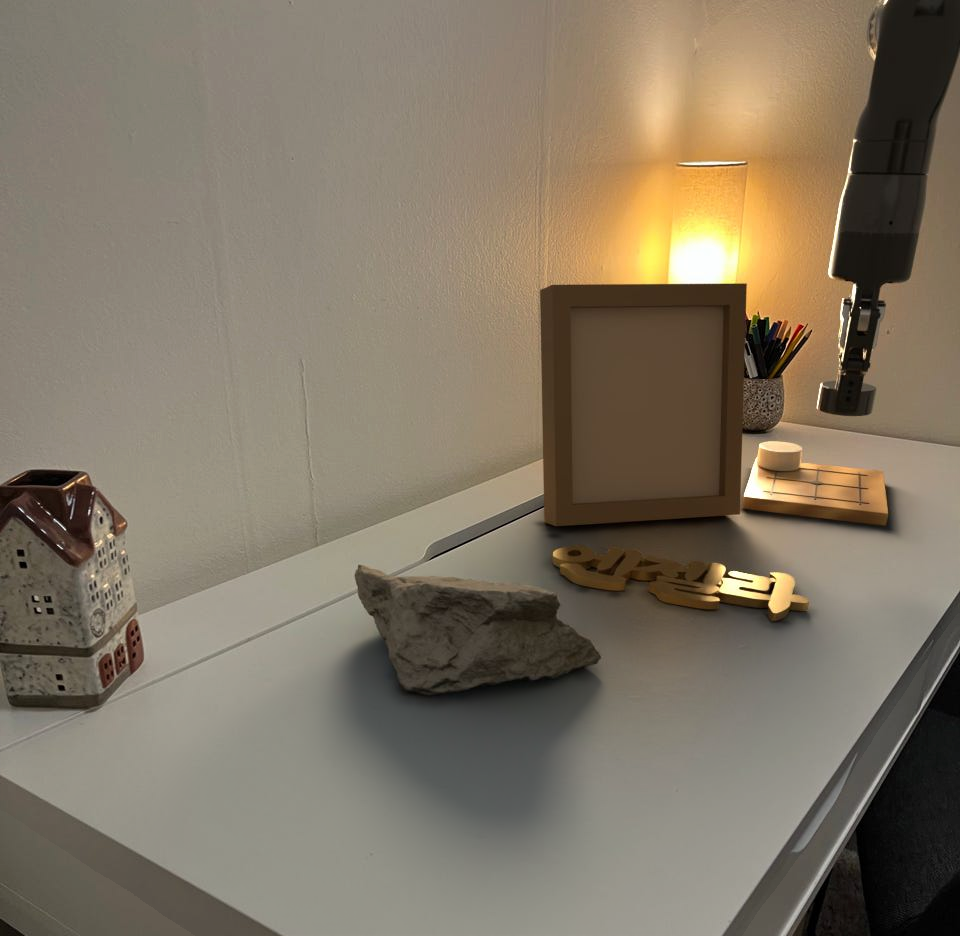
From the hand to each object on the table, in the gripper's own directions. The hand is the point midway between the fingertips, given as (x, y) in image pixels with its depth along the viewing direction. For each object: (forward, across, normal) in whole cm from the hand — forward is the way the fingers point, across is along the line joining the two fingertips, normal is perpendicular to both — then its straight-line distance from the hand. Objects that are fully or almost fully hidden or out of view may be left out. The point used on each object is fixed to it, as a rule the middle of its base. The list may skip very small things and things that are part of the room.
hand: (845, 405), depth 98 cm
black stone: (+1, 0, 0) cm, 1 cm away
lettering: (+14, -19, +13) cm, 27 cm away
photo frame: (+14, +2, +22) cm, 26 cm away
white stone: (+13, +22, +6) cm, 26 cm away
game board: (+14, +16, +1) cm, 22 cm away
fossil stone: (+14, -41, +28) cm, 51 cm away
